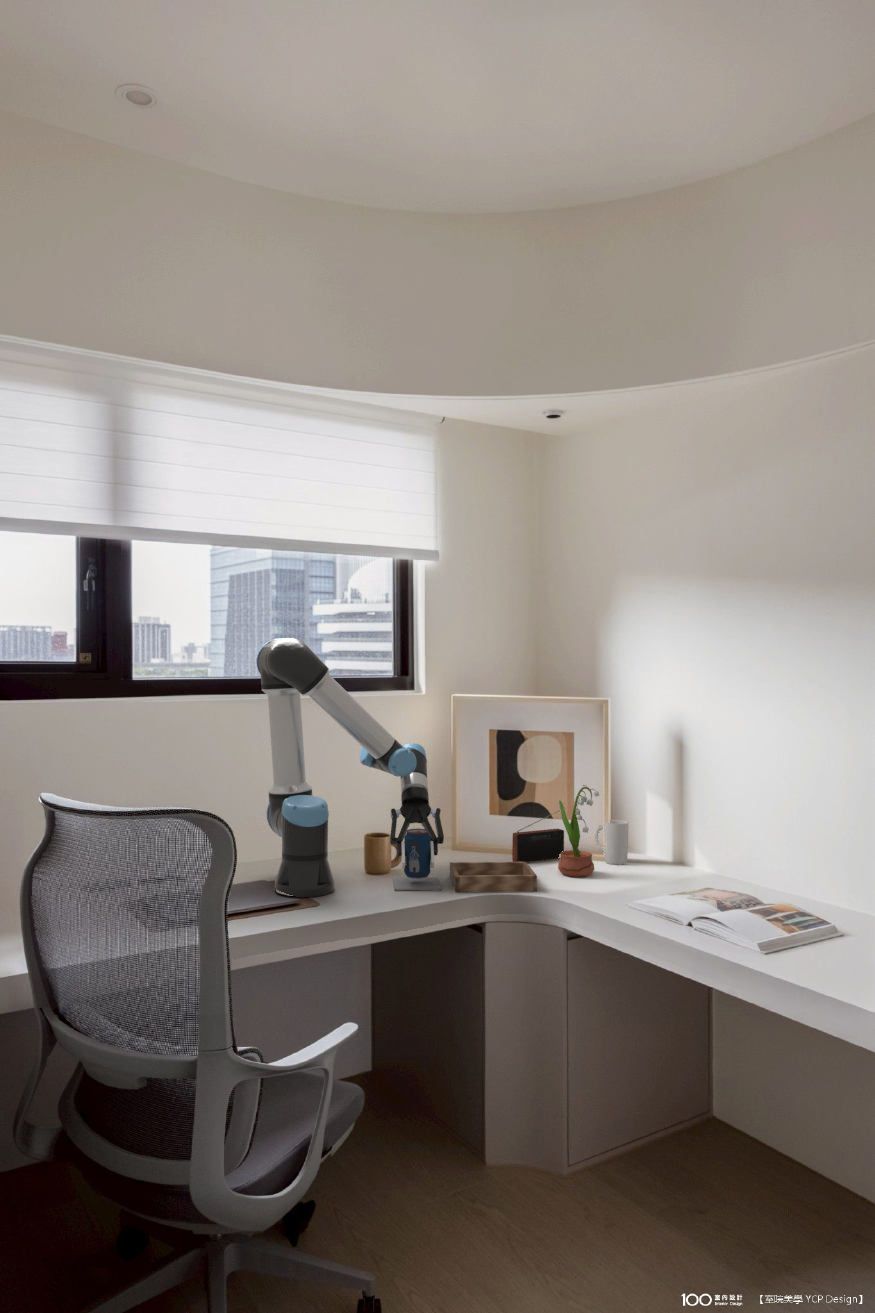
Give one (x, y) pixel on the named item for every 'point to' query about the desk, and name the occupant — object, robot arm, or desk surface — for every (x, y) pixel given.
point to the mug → (614, 841)
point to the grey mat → (416, 884)
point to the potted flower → (576, 841)
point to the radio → (537, 844)
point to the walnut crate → (492, 877)
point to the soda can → (417, 853)
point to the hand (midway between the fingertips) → (418, 865)
